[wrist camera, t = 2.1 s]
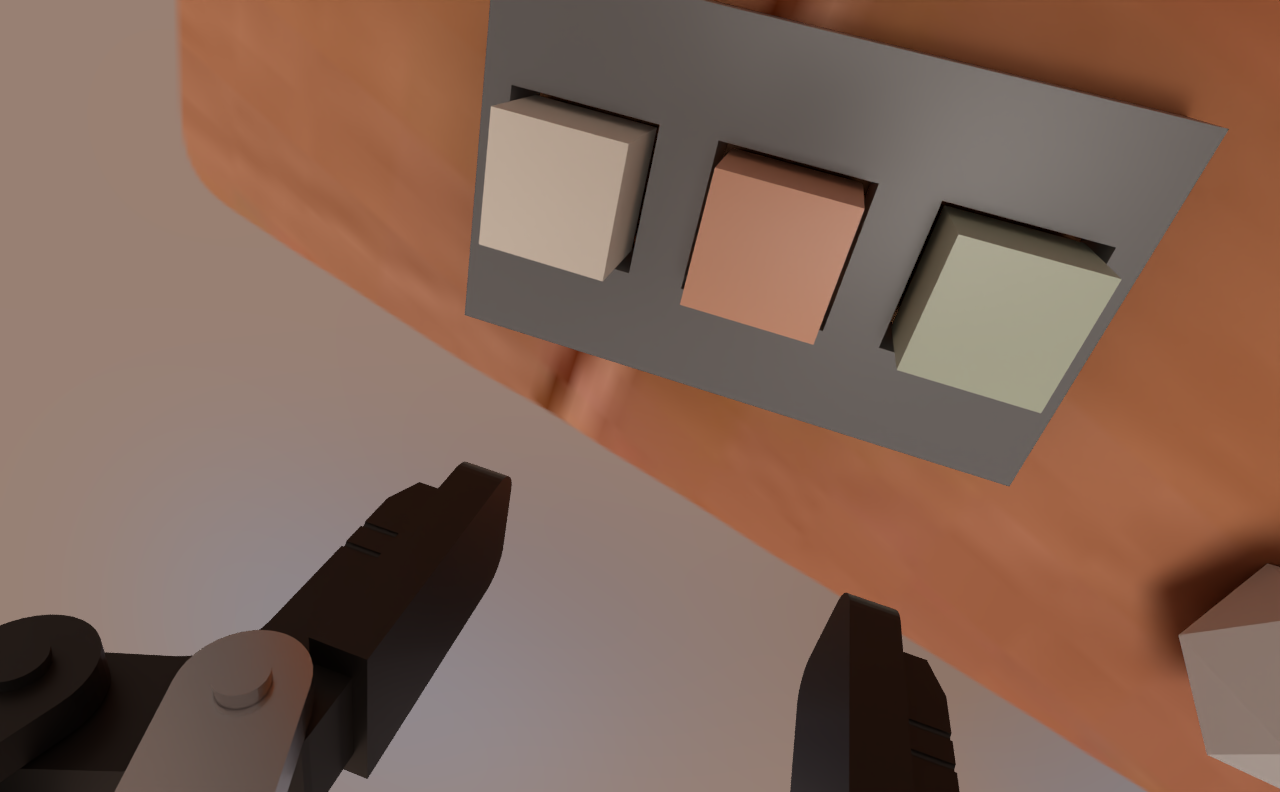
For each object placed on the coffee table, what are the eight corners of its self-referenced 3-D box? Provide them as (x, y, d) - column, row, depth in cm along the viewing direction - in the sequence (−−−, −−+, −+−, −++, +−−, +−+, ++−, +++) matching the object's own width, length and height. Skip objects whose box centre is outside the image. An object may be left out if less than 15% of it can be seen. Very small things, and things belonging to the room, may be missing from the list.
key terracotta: (732, 148, 26) (714, 167, 23) (862, 183, 26) (864, 208, 22) (699, 270, 29) (679, 304, 26) (817, 305, 28) (813, 344, 25)
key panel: (528, -45, 27) (494, -51, 24) (1187, 116, 24) (1228, 129, 21) (493, 292, 34) (464, 315, 31) (996, 447, 31) (1009, 486, 28)
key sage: (943, 205, 25) (958, 234, 22) (1084, 243, 25) (1121, 279, 21) (891, 326, 28) (896, 369, 25) (1017, 364, 27) (1041, 413, 24)
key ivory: (535, 94, 27) (490, 106, 24) (656, 127, 27) (628, 143, 23) (520, 218, 30) (479, 244, 27) (631, 250, 29) (602, 281, 26)
